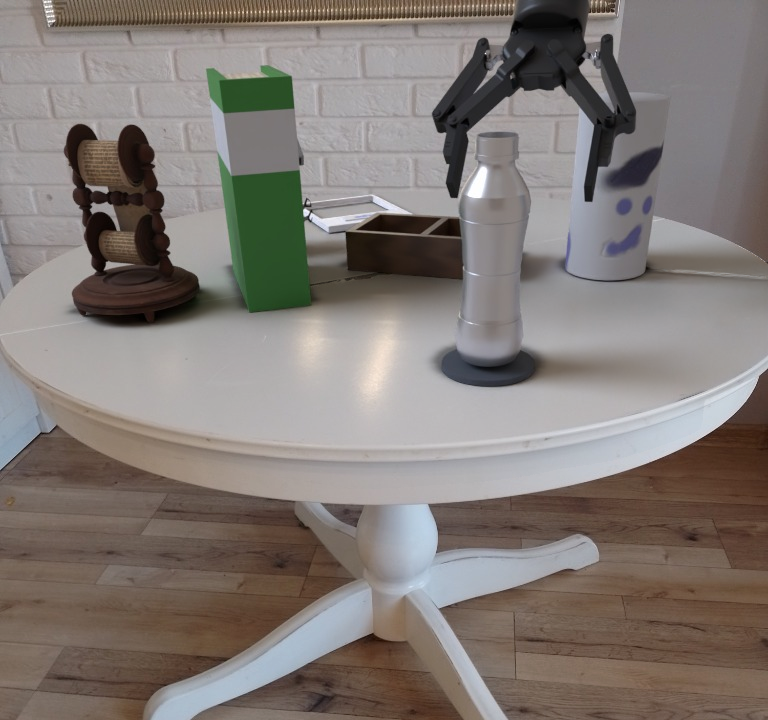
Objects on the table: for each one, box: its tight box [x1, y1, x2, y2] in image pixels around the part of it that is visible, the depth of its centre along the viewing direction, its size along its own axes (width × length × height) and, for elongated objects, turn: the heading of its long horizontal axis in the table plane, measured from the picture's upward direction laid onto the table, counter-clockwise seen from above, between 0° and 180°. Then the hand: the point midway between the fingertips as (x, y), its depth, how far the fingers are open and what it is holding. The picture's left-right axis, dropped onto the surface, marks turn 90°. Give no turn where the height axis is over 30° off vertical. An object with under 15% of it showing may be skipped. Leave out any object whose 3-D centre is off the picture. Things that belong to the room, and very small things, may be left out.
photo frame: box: [303, 194, 413, 234], centre depth 132 cm, size 15×1×18 cm
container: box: [564, 91, 671, 281], centre depth 97 cm, size 10×10×20 cm
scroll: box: [63, 123, 201, 324], centre depth 91 cm, size 15×15×20 cm
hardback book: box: [205, 64, 312, 313], centre depth 94 cm, size 18×7×24 cm, turn 15°
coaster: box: [440, 348, 536, 387], centre depth 77 cm, size 9×9×1 cm
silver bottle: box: [454, 131, 532, 367], centre depth 71 cm, size 6×7×20 cm
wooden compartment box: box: [344, 211, 464, 280], centre depth 106 cm, size 21×11×5 cm, turn 69°
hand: (518, 192), depth 79 cm, fingers open, 13 cm apart
